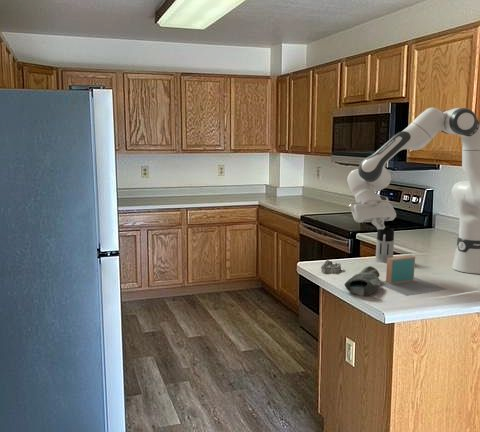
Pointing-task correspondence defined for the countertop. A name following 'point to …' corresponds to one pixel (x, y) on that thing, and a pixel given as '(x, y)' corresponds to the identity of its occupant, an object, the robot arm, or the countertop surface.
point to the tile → (400, 269)
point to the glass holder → (384, 244)
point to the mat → (413, 287)
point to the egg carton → (330, 267)
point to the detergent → (364, 282)
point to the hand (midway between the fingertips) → (381, 228)
